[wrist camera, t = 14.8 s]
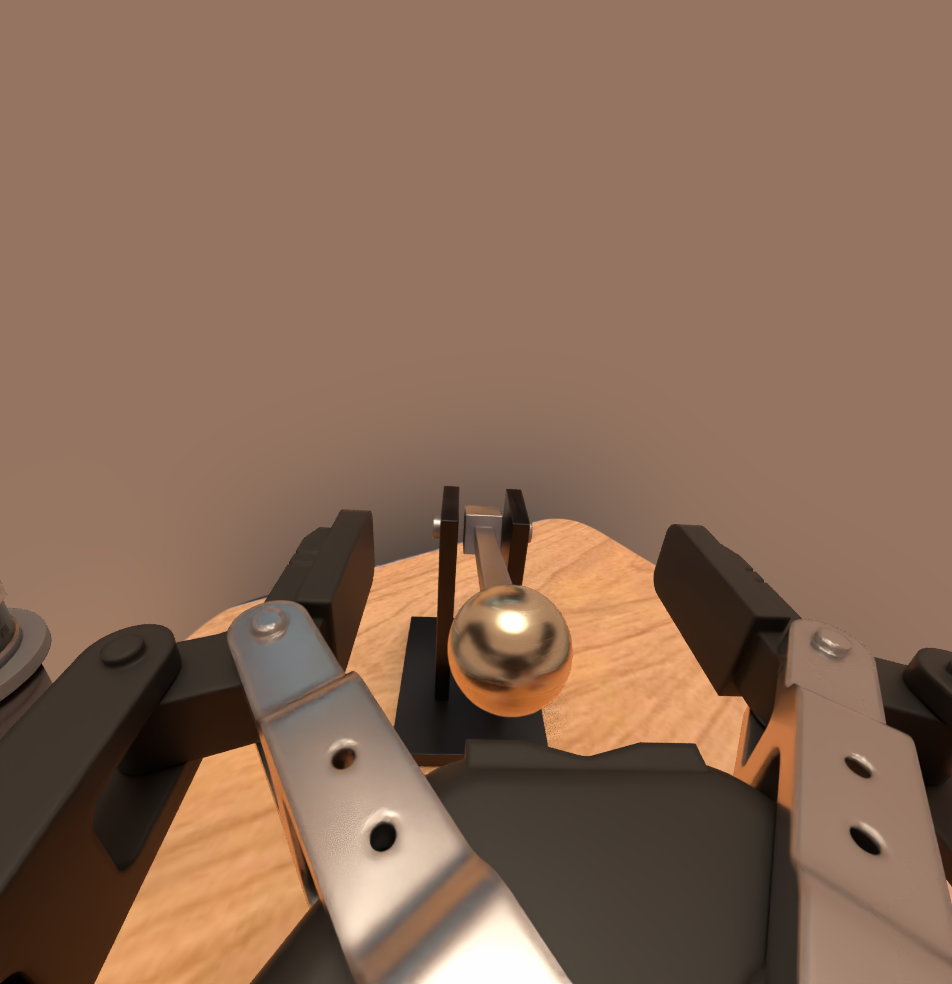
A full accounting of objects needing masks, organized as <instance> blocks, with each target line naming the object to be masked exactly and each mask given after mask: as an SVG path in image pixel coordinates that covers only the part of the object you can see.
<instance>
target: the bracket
mask: <svg viewBox="0 0 952 984" xmlns="http://www.w3.org/2000/svg"><path fill="white" fill-rule="evenodd" d="M458 522H459V487H453V486H444V491H443V500H442V510H441V516H434V517H433V531H432V537H433V539H440V547H439V577H438V607H437V617H413V616H412V617H411V623H410V629H409V635H408V642H407V648H406V654H405V661H404V667H403V674H402V680H401V686H400V693H399V699H398V706H397V712H396V718H395V725H394V729H395V731H396V732H397V734H398V735H399V737H400V738H401V740H402V742H403V743H404V745H405V746H406V748H407V749H408V751H409V752H410V754H411V756H412V757H413V759H414V760H415V762H416V763H417V765H418V766H444V765H446V764H449V763H451V762H454V761H458V760H461V759H464V756H465V745H466V739H493V740H525V741H529V742H532V743H536V744H540V745H543V746H547V747H548V744H547V738H546V733H545V727H544V721H543V716H542V710H541V709H540V710H539V711H537V712H535V713H532V714H529V715H525V716H520V717H504V716H498V715H495V714H492V713H489V712H487V711H485V710H483V709H481V708H479V707H478V706H476V705H475V704H474V703H472V702H471V701H470V700H469V699H468V698H467V697H466V696H465V695H464V693H463V692H462V691H461V689H460V688H459V687H458V685H457V683H456V681H455V679H454V677H453V675H452V671H451V668H450V665H449V660H448V638H449V633H450V629H451V626H452V623H453V621H454V619H455V618H453V613H454V595H455V577H456V559H457V541H458ZM531 539H532V522H531V521H530V520H529V518H528V513H527V510H526V506H525V502H524V498H523V495H522V491H521V490H517V489H506V495H505V505H504V513H503V529H502V544H501V553H502V556H503V559H504V562H505V565H506V568H507V571H508V573H509V576H510V579H511V582H512V584H515V585H521V586H522V581H523V574H524V568H525V561H526V554H527V547H528V543H530V542H531Z"/></svg>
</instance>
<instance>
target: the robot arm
mask: <svg viewBox="0 0 952 984" xmlns="http://www.w3.org/2000/svg"><path fill="white" fill-rule="evenodd" d="M374 562H375V560H374V539H373V519H372V513H371V511H364V510H341V511H340V512H339V514H338V516H337V518H336V520H335V522H334V524H333V525H332V527H331V528H323V527H320V528H318V529H316V530H315V531H313V532H312V533H310V534H309V535H308V536H306V537H305V538H304V539H303V540H302V542H301V544H300V546H299V547H298V549H297V550H296V554H294V555H293V557H292V558H291V560H290V562H289V565H287V566H286V568H285V570H284V571H283V573H282V575H281V576H280V578H279V580H278V581H277V583H276V584H275V586H274V587H273V589H272V591H271V592H270V594H269V596H268V597H267V599H266V600H265V602H264V603H262V604H259V605H256V606H254V607H252V608H250V609H248V610H246V611H245V612H243V613H242V614H240V615H239V616H238V617H237V618H236V619H235V620H234V621H233V622H232V624H231V625H230V627H229V629H228V631H226V632H223V633H220V634H216V635H212V636H207V637H202V638H197V639H192V640H187V641H182V642H177V643H176V641H175V638H174V635H173V633H172V632H171V631H170V630H169V629H168V628H166V627H164V626H161V625H156V624H144V625H137V626H132V627H128V628H125V629H122V630H119V631H116V632H114V633H111V634H109V635H107V636H105V637H103V638H101V639H100V640H98V641H96V642H95V643H93V644H92V645H91V646H89V647H88V648H87V649H85V650H84V651H83V652H82V653H81V654H80V655H79V656H78V657H77V658H76V659H75V661H74V662H73V663H72V664H71V665H70V666H69V667H68V668H67V669H66V670H65V671H64V672H63V673H62V674H61V675H60V676H59V678H58V679H57V680H56V681H55V682H54V683H53V684H52V685H51V686H50V687H49V688H48V689H47V690H46V691H45V692H44V694H43V695H42V696H41V697H40V698H39V699H38V700H37V701H36V702H35V703H34V704H33V705H32V706H31V707H30V708H29V710H28V711H27V712H26V713H25V714H24V715H23V716H22V717H21V718H20V719H19V720H18V721H17V722H16V723H15V724H14V726H13V727H12V728H11V729H10V730H9V731H8V732H7V733H6V734H5V735H4V736H3V737H2V738H1V739H0V984H94V983H95V981H96V979H97V977H98V975H99V973H100V971H101V968H102V966H103V964H104V962H105V960H106V958H107V956H108V954H109V952H110V950H111V948H112V946H113V944H114V941H115V939H116V937H117V935H118V933H119V931H120V929H121V927H122V925H123V923H124V921H125V919H126V917H127V914H128V912H129V910H130V908H131V906H132V904H133V902H134V900H135V898H136V896H137V894H138V892H139V890H140V888H141V885H142V883H143V881H144V879H145V877H146V875H147V873H148V871H149V869H150V867H151V865H152V863H153V861H154V858H155V856H156V854H157V852H158V850H159V848H160V846H161V844H162V842H163V840H164V838H165V836H166V834H167V832H168V829H169V827H170V825H171V823H172V821H173V819H174V817H175V815H176V813H177V811H178V809H179V807H180V805H181V802H182V800H183V798H184V796H185V794H186V792H187V790H188V788H189V786H190V784H191V782H192V780H193V778H194V776H195V773H196V771H197V769H198V767H199V765H200V763H201V761H202V759H203V758H204V757H208V756H211V755H215V754H218V753H222V752H225V751H229V750H232V749H236V748H239V747H243V746H246V745H250V744H253V743H255V746H256V749H257V752H258V755H259V758H260V761H261V764H262V767H263V770H264V773H265V776H266V778H267V781H268V784H269V787H270V790H271V793H272V796H273V799H274V802H275V805H276V808H277V811H278V814H279V817H280V820H281V823H282V826H283V829H284V832H285V835H286V839H287V842H288V845H289V849H290V852H291V855H292V859H293V862H294V865H295V868H296V871H297V874H298V877H299V880H300V883H301V886H302V889H303V892H304V895H305V898H306V901H307V904H308V907H309V911H308V912H307V913H306V914H305V916H304V917H303V918H302V919H301V921H300V922H299V923H298V924H297V926H296V927H295V928H294V929H293V931H292V932H291V933H290V934H289V936H288V937H287V938H286V939H285V941H284V942H283V943H282V944H281V946H280V947H279V948H278V949H277V951H276V952H275V953H274V954H273V956H272V957H271V958H270V959H269V961H268V962H267V963H266V964H265V965H264V967H263V968H262V969H261V970H260V972H259V973H258V974H257V975H256V977H255V978H254V979H253V980H252V982H251V983H250V984H952V903H951V899H950V895H949V890H948V886H947V882H946V880H947V881H948V882H949V884H950V885H951V886H952V652H949V651H946V650H941V649H936V648H924V649H921V650H919V651H918V652H917V654H916V655H915V656H914V658H913V659H912V661H911V662H910V663H909V665H908V666H907V665H903V664H899V663H895V662H891V661H887V660H883V659H879V658H875V657H873V655H872V653H871V652H870V651H869V650H868V648H866V646H865V645H864V644H862V643H861V642H860V641H858V640H857V639H856V638H855V637H853V636H852V635H850V634H848V633H846V632H845V631H843V630H841V629H839V628H837V627H835V626H832V625H830V624H827V623H824V622H821V621H817V620H812V619H802V618H801V617H800V616H799V615H798V614H797V613H796V612H795V611H794V610H793V609H792V608H791V607H790V606H789V605H788V604H787V603H786V602H785V601H784V600H783V599H782V598H781V597H780V596H779V595H778V594H777V593H776V592H775V591H774V590H773V589H772V588H771V587H770V586H769V585H768V584H767V583H764V580H763V579H762V578H761V577H760V575H759V574H758V573H756V572H753V568H752V567H751V566H750V565H749V564H748V563H747V562H746V561H745V560H744V559H743V558H742V557H740V556H739V555H738V554H736V553H734V552H733V551H731V550H730V549H728V548H727V547H725V546H723V545H722V544H720V543H719V542H718V541H717V540H716V539H715V537H714V536H713V535H712V534H711V533H710V532H709V531H708V530H707V529H706V528H705V527H703V526H700V525H681V524H673V525H671V526H670V527H669V528H668V530H667V532H666V535H665V539H664V542H663V545H662V548H661V552H660V555H659V558H658V561H657V564H656V567H655V571H654V587H655V590H656V593H657V595H658V596H659V598H660V600H661V601H662V603H663V605H664V606H665V608H666V610H667V611H668V613H669V615H670V616H671V618H672V620H673V621H674V623H675V625H676V626H677V628H678V629H679V631H680V633H681V634H682V636H683V638H684V639H685V641H686V643H687V644H688V646H689V648H690V649H691V651H692V653H693V654H694V656H695V658H696V659H697V661H698V663H699V664H700V666H701V667H702V669H703V671H704V672H705V674H706V676H707V677H708V679H709V681H710V682H711V684H712V686H713V687H714V689H715V691H716V692H717V694H718V696H742V697H743V698H744V700H745V701H746V703H747V704H748V707H747V708H746V710H745V712H744V715H743V721H742V727H741V733H740V739H739V745H738V751H737V757H736V763H735V768H734V774H733V776H732V775H730V774H728V773H726V772H723V771H721V770H718V769H716V768H713V767H710V766H707V765H706V764H705V762H704V760H703V758H702V756H701V754H700V752H699V750H698V748H697V746H696V744H692V743H642V742H640V743H636V744H633V745H629V746H625V747H622V748H618V749H614V750H611V751H607V752H604V753H600V754H596V755H593V756H580V755H576V754H573V753H569V752H565V751H562V750H558V749H554V748H551V747H547V746H543V745H540V744H536V743H532V742H529V741H525V740H493V739H466V745H465V756H464V759H461V760H458V761H454V762H451V763H449V764H446V765H444V766H442V767H439V768H437V769H436V770H434V771H432V772H430V773H429V774H427V775H425V776H424V774H423V773H422V771H421V770H420V768H419V766H418V765H417V763H416V762H415V760H414V759H413V757H412V756H411V754H410V752H409V751H408V749H407V748H406V746H405V745H404V743H403V742H402V740H401V738H400V737H399V735H398V734H397V732H396V731H395V729H394V727H393V726H392V724H391V723H390V721H389V720H388V718H387V717H386V715H385V713H384V712H383V710H382V709H381V707H380V706H379V704H378V703H377V701H376V699H375V698H374V696H373V695H372V693H371V692H370V690H369V689H368V687H367V685H366V684H365V682H364V681H363V679H362V678H361V677H360V676H359V674H358V673H356V672H355V671H352V672H350V673H348V674H346V673H345V671H346V668H347V665H348V661H349V658H350V655H351V651H352V648H353V645H354V641H355V638H356V635H357V632H358V628H359V625H360V622H361V618H362V615H363V612H364V609H365V605H366V602H367V599H368V595H369V592H370V589H371V585H372V582H373V576H374V565H375V564H374ZM6 596H7V592H6V591H5V589H4V587H3V585H2V583H1V581H0V668H2V667H3V666H4V665H5V664H6V663H7V662H8V661H9V660H10V659H11V658H12V656H13V655H14V654H15V653H16V651H17V650H18V648H19V646H20V645H21V642H22V638H23V633H22V630H21V628H20V626H19V624H18V622H17V621H16V619H15V618H14V617H13V616H12V615H11V614H10V612H9V610H8V609H7V607H6V605H5V603H4V601H3V599H4V598H5V597H6Z"/></svg>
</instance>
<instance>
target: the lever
mask: <svg viewBox="0 0 952 984" xmlns="http://www.w3.org/2000/svg"><path fill="white" fill-rule="evenodd" d="M502 529H503V515H502V513H501V511H500V509H499V508H498V507H490V506H468V505H466V506H465V513H464V530H463V531H464V532H463V552H464V554H475V556H476V563H477V570H478V578H479V585H480V592H478V593H477V594H475V595H474V596H472V597H471V598H470V599H469V600H468V601H467V602H466V603H465V604H464V605H463V606H462V608H461V609H460V610H459V612H458V613H457V615H456V617H455V619H454V621H453V623H452V626H451V629H450V633H449V638H448V660H449V665H450V668H451V671H452V675H453V677H454V679H455V681H456V683H457V685H458V687H459V688H460V689H461V691H462V692H463V693H464V695H465V696H466V697H467V698H468V699H469V700H470V701H471V702H472V703H474V704H475V705H476V706H478V707H479V708H481V709H483V710H485V711H487V712H489V713H492V714H495V715H498V716H504V717H520V716H525V715H529V714H532V713H535V712H537V711H539V710H540V709H542V708H544V707H545V706H547V705H548V704H549V703H550V702H551V701H553V700H554V699H555V698H556V697H557V695H558V694H559V693H560V691H561V690H562V688H563V687H564V685H565V683H566V681H567V679H568V676H569V673H570V670H571V665H572V658H573V648H572V640H571V635H570V631H569V629H568V626H567V624H566V621H565V619H564V618H563V616H562V614H561V613H560V611H559V610H558V609H557V607H556V606H555V605H554V604H553V603H552V602H551V601H550V600H549V599H548V598H546V597H545V596H544V595H542V594H541V593H539V592H537V591H535V590H533V589H531V588H528V587H525V586H521V585H515V584H512V582H511V579H510V576H509V573H508V571H507V568H506V565H505V562H504V559H503V556H502V553H501V544H502Z"/></svg>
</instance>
